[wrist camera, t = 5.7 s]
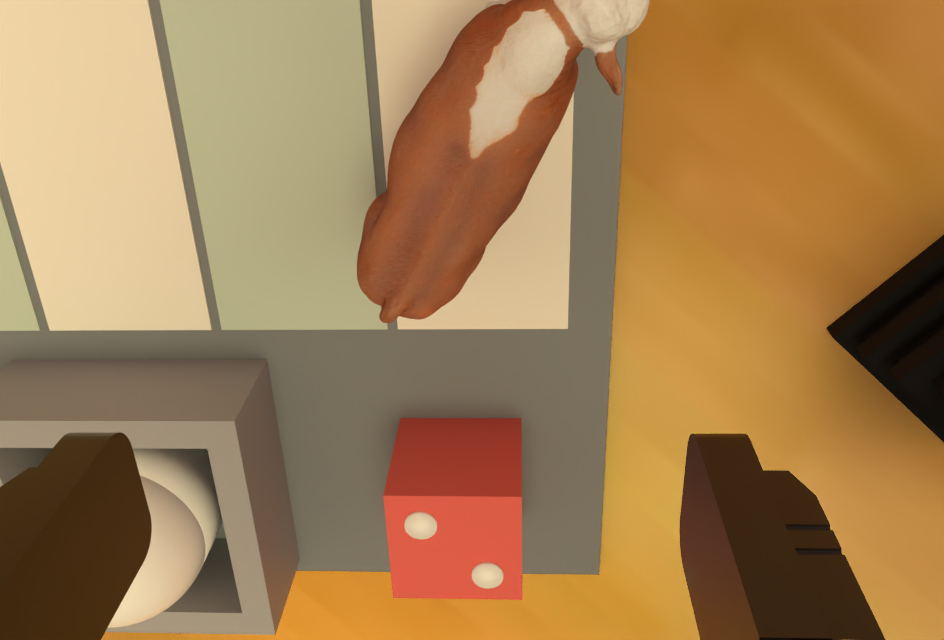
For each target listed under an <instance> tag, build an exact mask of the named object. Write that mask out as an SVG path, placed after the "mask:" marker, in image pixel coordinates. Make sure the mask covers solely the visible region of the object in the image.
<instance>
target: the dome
mask: <svg viewBox="0 0 944 640" xmlns="http://www.w3.org/2000/svg"><path fill="white" fill-rule="evenodd" d="M132 449H133V452H134V456H135V460H136V463H137V467H138V471H139V474H140V478H141V482H142V485H143V489H144V493H145V496H146V500H147V504H148V508H149V511H150V516H151V523H152V532H151V541H150V546H149V550H148V553H147V556H146V558H145V560H144V562H143V564H142V566H141V568H140V570H139V571H138V573H137V575H136V577H135V579H134V581H133V582H132V584H131V586H130V588H129V590H128V591H127V593H126V595H125V597H124V599H123V600H122V602H121V604H120V606H119V608H118V609H117V611H116V613H115V615H114V617H113V619H112V620H111V622H110V624H109V626H108V628H113V627H123V626H128V625H133V624H137V623H140V622H142V621H145V620H147V619H150V618H152V617H154V616H156V615H158V614H160V613H161V612H163V611H164V610H166V609H168V608H169V607H170V606H171V605H173V604H174V603H175V602H176V601H177V600H179V599H180V598H181V597H182V596H183V595H184V593H185V592H186V591H187V590H188V589H189V588H190V586H191V585H192V584H193V582H194V581H195V579H196V577H197V576H198V574H199V572H200V570H201V568H202V566H203V564H204V562H205V560H206V557H207V555H208V553H209V551H210V549H211V547H212V545H213V542H214V540H215V538H216V536H217V534H218V532H219V529H220V527H221V525H222V523H223V520H222V515H221V511H220V506H219V501H218V497H217V492H216V487H215V483H214V478H213V473H212V468H211V464H210V459H209V454H208V453H207V452H206V451H205V450H204V449H148V448H132Z"/></svg>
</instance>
